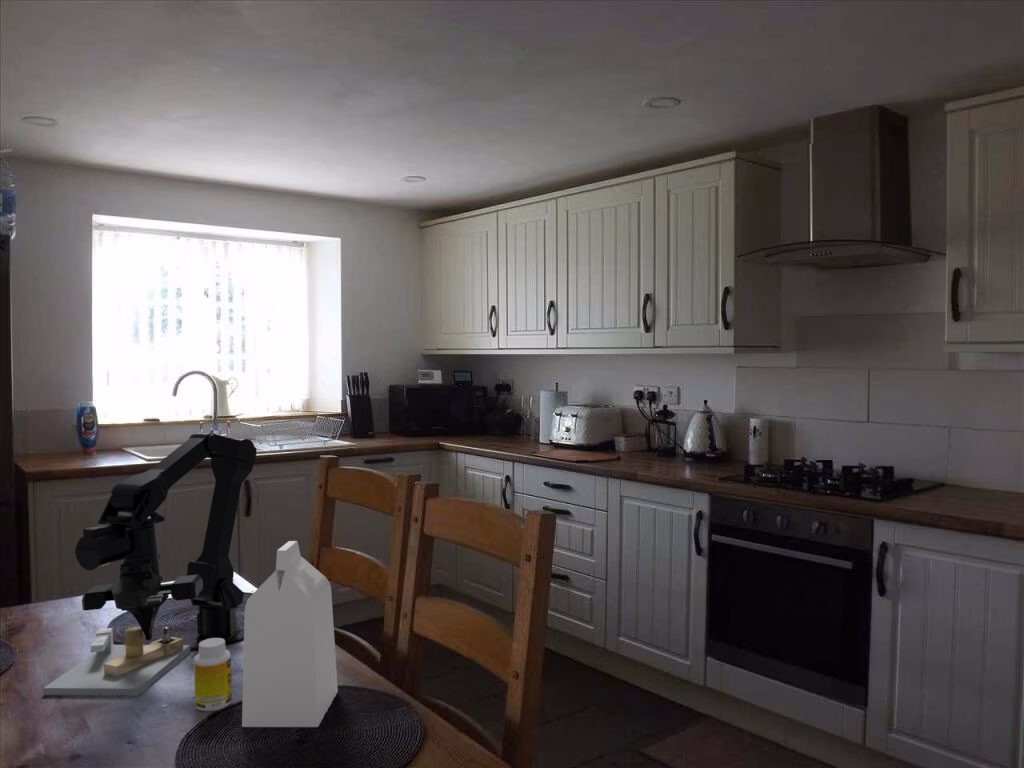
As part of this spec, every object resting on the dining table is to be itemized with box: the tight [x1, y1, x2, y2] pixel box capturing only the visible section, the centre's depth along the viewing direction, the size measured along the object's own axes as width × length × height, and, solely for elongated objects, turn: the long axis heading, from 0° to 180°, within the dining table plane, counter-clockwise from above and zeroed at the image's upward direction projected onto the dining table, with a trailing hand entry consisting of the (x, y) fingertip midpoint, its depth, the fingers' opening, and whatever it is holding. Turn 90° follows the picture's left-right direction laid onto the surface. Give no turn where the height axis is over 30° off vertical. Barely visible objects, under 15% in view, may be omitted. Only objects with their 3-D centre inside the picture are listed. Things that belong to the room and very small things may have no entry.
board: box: [43, 644, 191, 697], centre depth 141 cm, size 16×19×1 cm
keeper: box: [90, 627, 114, 654], centre depth 145 cm, size 2×8×4 cm, turn 17°
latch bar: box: [104, 626, 184, 677], centre depth 143 cm, size 14×4×6 cm, turn 156°
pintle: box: [160, 625, 172, 644], centre depth 147 cm, size 2×2×4 cm
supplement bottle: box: [193, 638, 233, 712], centre depth 127 cm, size 6×6×10 cm
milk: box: [241, 540, 339, 728], centre depth 125 cm, size 12×12×26 cm
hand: (148, 639), depth 141 cm, fingers closed
